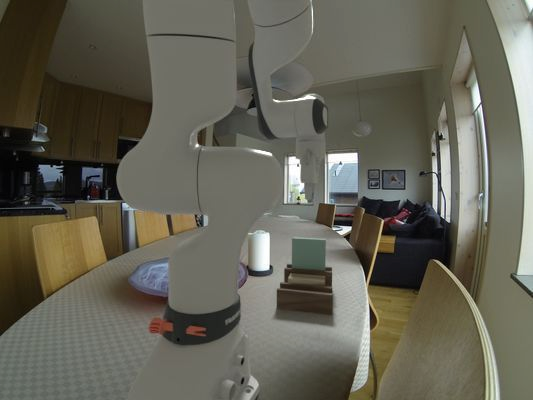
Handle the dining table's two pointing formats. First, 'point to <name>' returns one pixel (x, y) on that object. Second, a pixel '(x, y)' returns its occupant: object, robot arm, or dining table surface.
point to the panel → (308, 253)
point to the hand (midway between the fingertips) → (309, 198)
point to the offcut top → (306, 279)
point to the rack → (306, 293)
